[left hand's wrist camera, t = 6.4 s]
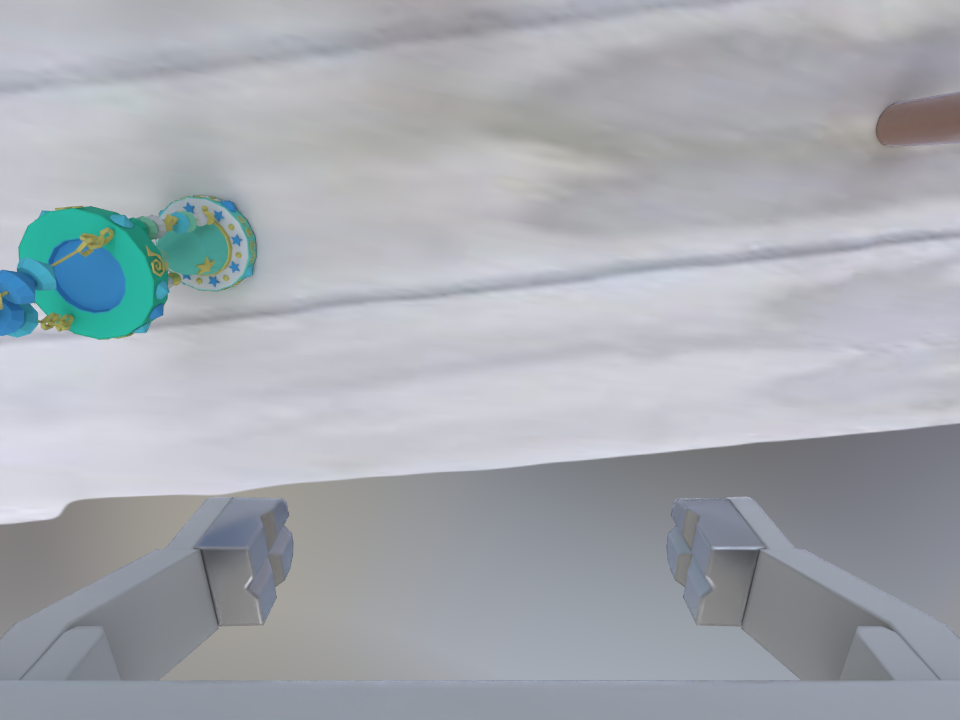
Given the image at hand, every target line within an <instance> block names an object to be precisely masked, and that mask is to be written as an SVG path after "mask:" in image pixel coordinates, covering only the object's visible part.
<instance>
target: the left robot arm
mask: <svg viewBox="0 0 960 720" xmlns="http://www.w3.org/2000/svg"><path fill="white" fill-rule="evenodd" d="M288 516H289V512H288V508H287V503H286V501H285V500H284V499H282V498H246V497H236V498H234V497H212V498H209V499H206V500H205V501H204V503H203V504H202V505H201V506H200V507H199V509H198V510H197V511H196V512H195V513H194V515H193V516H192V517H191V518H190V519H189V520H188V522H187V523H186V524H185V525H184V526H183V528H182V529H181V530H180V531H179V532H178V534H177V535H176V536H175V537H174V538H173V539H172V541H171V542H170V543H169V544H168V545H167V547H166V548H165V549H156V550H154V551H152V552H150V553H148V554H146V555H145V556H143V557H141V558H139V559H137V560H135V561H133V562H131V563H130V564H127V565H126V566H124V567H122V568H120V569H118V570H116V571H114V572H112V573H110V574H108V575H107V576H105V577H103V578H101V579H99V580H97V581H95V582H93V583H91V584H89V585H87V586H86V587H84V588H82V589H80V590H78V591H76V592H74V593H72V594H70V595H68V596H67V597H65V598H63V599H61V600H59V601H57V602H55V603H53V604H51V605H49V606H47V607H46V608H44V609H42V610H40V611H38V612H36V613H34V614H32V615H30V616H28V617H27V618H25V619H23V620H21V621H19V622H17V623H15V624H14V625H13V626H12V627H11V628H10V629H9V630H8V631H7V632H6V633H5V634H4V635H2V636H1V637H0V720H960V637H959V636H958V635H957V634H956V633H955V632H954V631H953V630H952V629H951V628H950V627H949V626H948V625H946V624H944V623H943V622H941V621H939V620H937V619H935V618H933V617H931V616H929V615H927V614H925V613H924V612H922V611H920V610H918V609H916V608H914V607H912V606H910V605H908V604H907V603H905V602H903V601H901V600H899V599H897V598H895V597H893V596H891V595H889V594H888V593H886V592H884V591H882V590H880V589H878V588H876V587H874V586H872V585H870V584H869V583H867V582H865V581H863V580H861V579H859V578H857V577H855V576H853V575H851V574H850V573H848V572H846V571H844V570H842V569H840V568H838V567H836V566H834V565H832V564H831V563H829V562H827V561H825V560H823V559H821V558H819V557H817V556H815V555H813V554H812V553H810V552H808V551H806V550H804V549H795V548H794V547H793V545H792V544H791V543H790V542H789V541H788V540H787V538H786V537H785V536H784V535H783V534H782V532H781V531H780V530H779V529H778V528H777V526H776V525H775V524H774V523H773V522H772V521H771V519H770V518H769V517H768V516H767V515H766V513H765V512H764V511H763V510H762V509H761V507H760V506H759V505H758V504H757V503H756V502H755V500H753V499H751V498H749V497H729V498H709V499H708V498H707V499H706V498H705V499H675V501H674V504H673V506H672V512H671V516H672V518H673V520H674V522H675V524H676V526H675V527H674V528H673V529H672V530H671V531H670V532H669V533H668V538H667V557H668V563H669V566H670V570H671V572H672V574H673V577H674V579H675V580H676V581H677V582H678V583H680V584H681V585H682V586H684V587H685V591H684V596H683V598H684V600H685V602H686V604H687V606H688V608H689V610H690V612H691V614H692V616H693V618H694V621H695V623H696V625H712V626H742V628H741V629H742V630H744V631H745V632H746V633H747V634H748V635H749V636H751V637H752V638H753V639H754V640H755V641H756V642H757V643H759V644H760V645H761V646H762V647H763V648H764V649H766V650H767V651H768V652H769V653H770V654H771V655H772V656H774V657H775V658H776V659H777V660H778V661H779V662H781V663H782V664H783V665H784V666H785V667H786V668H787V669H789V670H790V671H791V672H792V673H793V674H794V675H796V676H797V677H798V678H799V679H800V680H755V681H754V680H753V681H677V680H676V681H675V680H673V681H672V680H670V681H668V680H431V681H430V680H426V681H424V680H423V681H421V680H418V681H159V680H160V679H161V678H162V677H163V676H165V675H166V674H167V673H168V672H169V671H170V670H171V669H173V668H174V667H175V666H176V665H177V664H178V663H180V662H181V661H182V660H183V659H184V658H185V657H187V656H188V655H189V654H190V653H191V652H192V651H193V650H195V649H196V648H197V647H198V646H199V645H200V644H202V643H203V642H204V641H205V640H206V639H207V638H209V637H210V636H211V635H212V634H213V633H214V632H216V631H217V630H218V626H248V625H264V623H265V621H266V618H267V616H268V614H269V612H270V610H271V608H272V606H273V604H274V602H275V600H276V591H275V587H276V586H278V585H279V584H280V583H282V582H283V581H284V580H285V579H286V577H287V574H288V572H289V570H290V567H291V562H292V557H293V538H292V533H291V532H290V531H289V530H288V529H287V528H286V527H285V526H284V524H285V522H286V520H287V518H288Z"/></svg>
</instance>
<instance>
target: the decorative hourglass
mask: <svg viewBox="0 0 960 720" xmlns="http://www.w3.org/2000/svg"><path fill="white" fill-rule="evenodd" d="M59 209H64V210H59ZM55 210H57V211H42V212H41V214H40V216H39V218H38V219H37V220H35V221H34V222H33V223H31V224H30V225H28V227H27V229H26V231H25V234H24V236H23V238H22V241H21V243H20V245H19V247H18V248H19V263H18V266H17V272H13V271H7V270H1V271H0V336H4V335H9V336H13V337H20V336H24V335H27V334H30V333H31V332H32V331H33V330H34V329H35V327H36V326H37V325H38V323H41V328H42V329H44V330H48V329H50V328H53V327H54V326H56V329H57V330H58V331H62V330H69V331H71V332H73V333H74V334H78V335H83V336H87V337H91V338H95V339H97V340H105V339H110V338H118V339H119V338H124V337H128V336H131V335H132V334H134V333H146V332H147V331H148V328H149V326H150V324H151V321H153V320H154V319H156V318H157V317H160V316H162V315H163V306H164V304H165V302H166V301H167V297H168V293H169V292H170V291H169V288H170V287H172V285H178V284H180V282H182V283H183V284H186V285H189V286H191V287H193V288H195V289H197V290H205V291H219V290H224V289H227V288H230V287H232V286H235V285H237V284H239V283H240V282H241V281H242V280H243V279H244V278H246V277H249V276H251V275H253V265H254V262H255V259H256V256H257V253H256V241H255V236H254V234H253V232H252V230H251V228H250V226H249V224H248V221H247V220H246V219H245V218H244V217H243V216H242V215H241V214H240V213H239V212H238V211H237V209H236V207H235V205H234V203H232V202H230V201H221V200H219V199H217V198H215V197H208V196H204V195H200V196H193V197H190V196H188V197H184V198H182V199H180V200H177V201H174V202H172V203H170V205H169V206H168V207H167V208H166V209H165V210H162V211H160V213H159V217H157V216H154V215H150V216H147V217H144V216H142V217H139V218H130V219H128V218H127V217H126V216H125V215H120V214H118V213H116V212H112V211H108V210H104V209H100V208H96V207H92V206H90V207H83V206H75V207H63V208H55ZM152 239H156V246H157V247H156V246H155V245H154V243H153V242H152V241H151V240H152ZM168 270H169V271H170V272H171V273H169V274H168ZM30 303H34V304H35V303H36V304H37V305H38V306H39V307H40V308H41V309H42V310H43V312H44V313H45V314H46V315H47V317H45V318H44V319H42V320H41V321H40V320H38V312H37V311H36V310H35V309H34V308H33V307H32V306H31V305H30ZM47 322H48V325H46V323H47ZM55 322H56V323H55Z"/></svg>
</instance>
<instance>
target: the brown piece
mask: <svg viewBox="0 0 960 720" xmlns="http://www.w3.org/2000/svg"><path fill="white" fill-rule="evenodd" d="M876 132H877V137H878V139H879V141H880V142H881V143H882V144H883V145H885V146H888V147H903V146H920V145H938V144H955V143H960V92H954V93H948V94H942V95H936V96H930V97H924V98H918V99H912V100H906V101H900V102H897V103H894V104H892V105H891V106H889V107H888V108H887V109H886V110H885V111H884V112H883V113H882V115H881V116H880V118H879V120H878V123H877V128H876Z"/></svg>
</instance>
